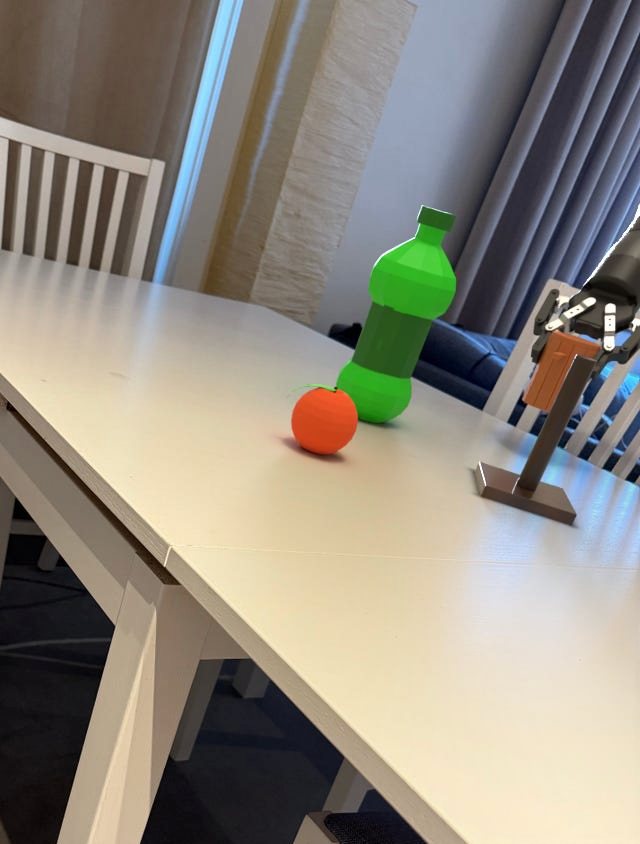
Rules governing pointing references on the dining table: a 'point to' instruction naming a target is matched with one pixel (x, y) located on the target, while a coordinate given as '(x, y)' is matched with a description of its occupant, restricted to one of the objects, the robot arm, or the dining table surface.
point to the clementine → (324, 419)
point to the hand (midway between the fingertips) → (560, 367)
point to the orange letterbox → (555, 368)
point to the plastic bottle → (399, 319)
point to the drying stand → (540, 457)
